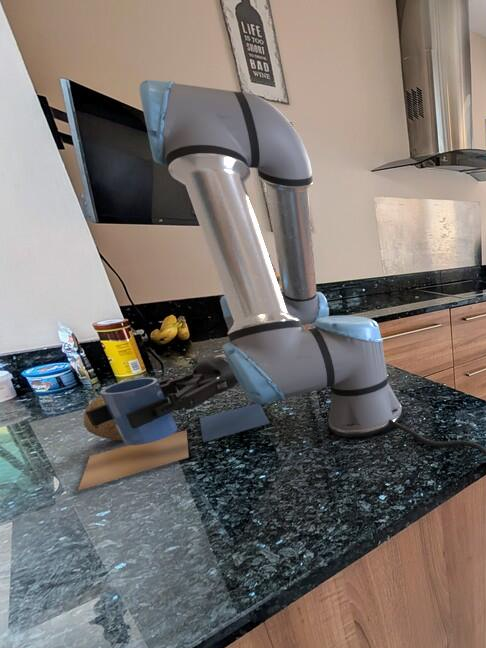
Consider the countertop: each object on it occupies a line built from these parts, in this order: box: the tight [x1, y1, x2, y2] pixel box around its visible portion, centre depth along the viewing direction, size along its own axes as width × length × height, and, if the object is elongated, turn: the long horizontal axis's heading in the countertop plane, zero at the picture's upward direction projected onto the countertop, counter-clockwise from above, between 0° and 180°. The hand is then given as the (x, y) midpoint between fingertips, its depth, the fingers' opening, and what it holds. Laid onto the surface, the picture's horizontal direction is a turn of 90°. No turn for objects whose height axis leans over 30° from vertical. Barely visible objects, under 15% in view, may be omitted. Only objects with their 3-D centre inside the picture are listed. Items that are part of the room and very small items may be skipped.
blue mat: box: [199, 403, 270, 443], centre depth 88 cm, size 14×12×1 cm
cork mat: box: [77, 429, 190, 491], centre depth 75 cm, size 14×15×1 cm
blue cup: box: [99, 377, 179, 446], centre depth 71 cm, size 8×8×10 cm
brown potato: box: [83, 396, 124, 442], centre depth 80 cm, size 9×9×10 cm
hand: (110, 420), depth 67 cm, fingers closed on blue cup, 8 cm apart
